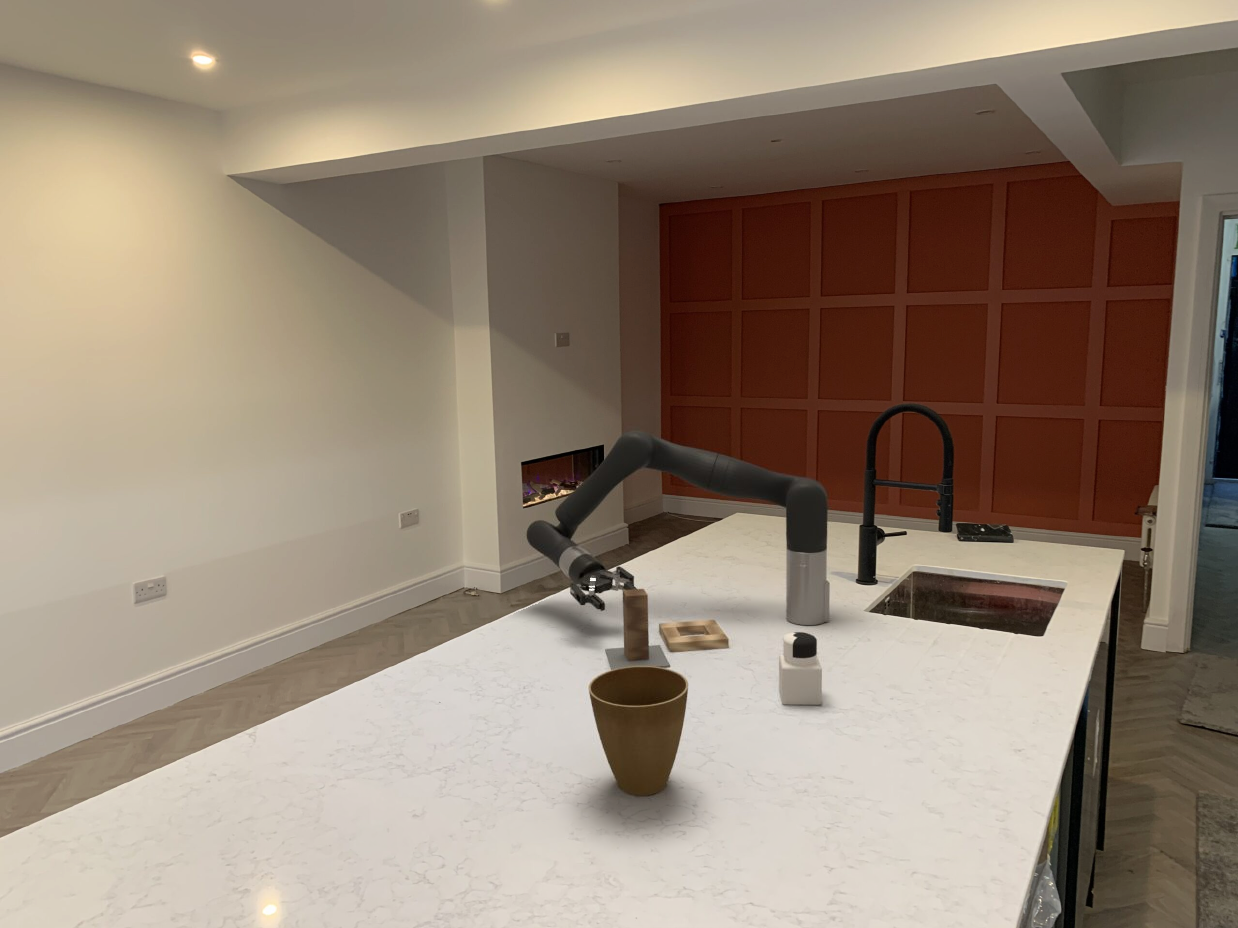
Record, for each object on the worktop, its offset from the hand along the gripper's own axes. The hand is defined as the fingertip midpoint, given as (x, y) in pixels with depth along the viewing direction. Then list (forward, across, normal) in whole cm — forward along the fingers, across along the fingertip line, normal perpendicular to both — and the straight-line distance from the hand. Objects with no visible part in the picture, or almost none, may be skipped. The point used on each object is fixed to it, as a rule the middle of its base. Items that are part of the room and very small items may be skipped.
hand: (620, 600), depth 190 cm
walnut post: (+12, -4, +6) cm, 14 cm away
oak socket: (+10, +13, +9) cm, 19 cm away
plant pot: (+52, -32, -9) cm, 62 cm away
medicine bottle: (+45, +10, -1) cm, 46 cm away
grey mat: (+12, -4, +6) cm, 14 cm away
